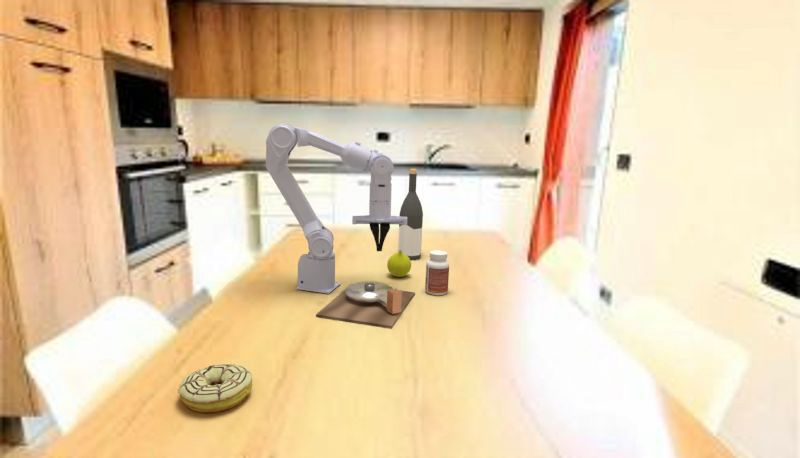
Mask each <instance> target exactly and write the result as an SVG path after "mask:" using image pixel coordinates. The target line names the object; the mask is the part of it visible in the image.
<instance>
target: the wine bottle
mask: <svg viewBox="0 0 800 458" xmlns="http://www.w3.org/2000/svg"><path fill="white" fill-rule="evenodd" d="M408 176H409V177H408V192H407V194H406V197H405V198H404V200H403V202H402V204H401V207H400V211H399V216H401V217H407V225H403V224H398V245H397V248H398V249H397V253H398V252H399V249H402V253H403V254H405V255H407V256H408V257H409V259H410V261H417V260H420V258H421V255H422V242H423V240H422V239H423V222H424V221H423V219H424V218H423V217H424V212H423V207H422V204H421V203H422V202H421V200H420V198H419V196H418V194H417V178H418V177H417V176H418V173H417V168H410V169H409V173H408Z"/></svg>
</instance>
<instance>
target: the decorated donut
mask: <svg viewBox="0 0 800 458" xmlns="http://www.w3.org/2000/svg"><path fill="white" fill-rule="evenodd" d="M252 387H253V374H252V372H251V371H250V370H249V369H248V368H247V367H246V366H244V365H239V364H232V363H230V364H225V363H223V364H221V363H220V364H212V365H209V366H206V367H203V368H200V369H197V370H196V371H193V372H191V373H190V374H188V375H187V376H185V377H184V378H182V380H181V382H180V384H179V387H178V388H177V389H178V390H177V394H179V397H180V400H181V401H182V402H183V404H184V405H185V406H186V407H188V408H189V409H191V410H192V411H195V412H197V413H201V414H207V413H208V414H209V413H211V414H213V413H218V412H223V411H227V410H230V409H232V408H234V407H235V406H237V405H240V404H241V403H242V402H243V401H244V400H245V399H246V397H248V395H249V394H250V392H251V390H252Z"/></svg>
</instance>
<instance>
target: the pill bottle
mask: <svg viewBox="0 0 800 458" xmlns="http://www.w3.org/2000/svg"><path fill="white" fill-rule="evenodd" d="M428 257H429V259H427V261H426V266H425V283H424V284H425V285H424V287H425V288H424V289H425V292H426V293H427V294H429V295H432V296H443V295H446V294H447V293H448V291H449V278H450V276H449V275H450V262H449V261H448V260H447V258H448V252H447V251H444V250H440V249H438V250H437V249H436V250H430V251H429V256H428Z"/></svg>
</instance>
